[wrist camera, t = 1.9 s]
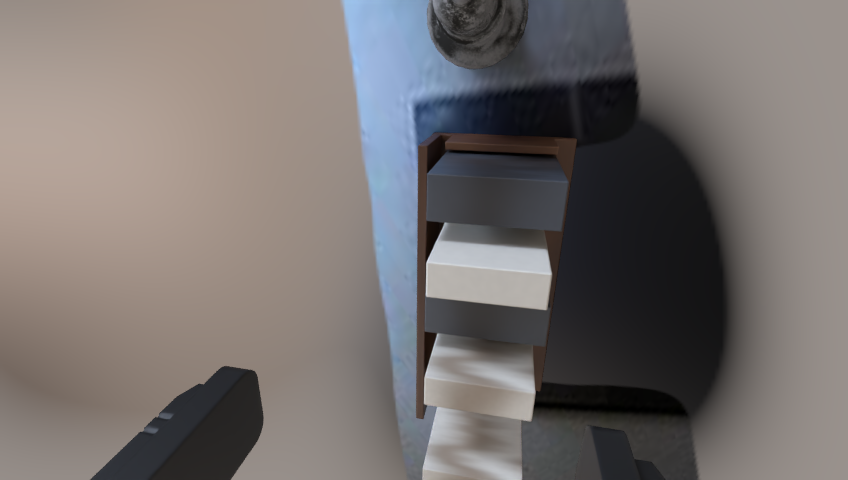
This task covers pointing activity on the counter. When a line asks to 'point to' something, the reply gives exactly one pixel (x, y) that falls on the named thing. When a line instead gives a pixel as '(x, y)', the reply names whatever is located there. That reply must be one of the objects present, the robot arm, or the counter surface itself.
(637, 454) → the counter surface
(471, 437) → the book rack
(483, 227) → the white book
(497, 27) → the stone chess piece
